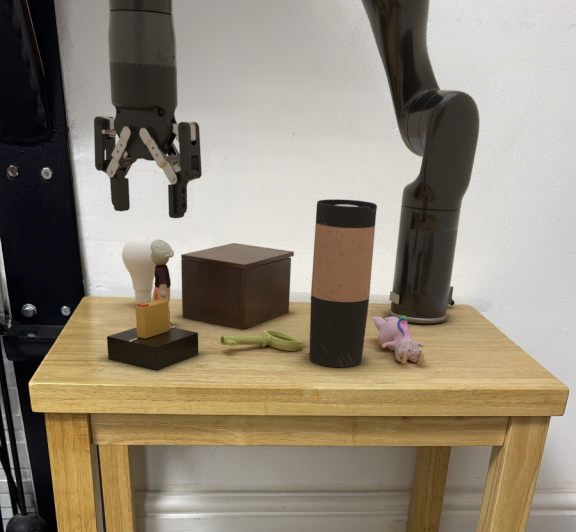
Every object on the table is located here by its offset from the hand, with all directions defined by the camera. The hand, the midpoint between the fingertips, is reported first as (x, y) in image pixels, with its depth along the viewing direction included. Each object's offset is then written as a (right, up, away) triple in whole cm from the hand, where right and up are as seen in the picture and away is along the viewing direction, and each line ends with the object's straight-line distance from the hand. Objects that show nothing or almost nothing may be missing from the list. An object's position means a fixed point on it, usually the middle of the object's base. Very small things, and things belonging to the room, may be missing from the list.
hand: (148, 214), depth 95 cm
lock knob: (-1, -13, +7) cm, 15 cm away
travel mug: (+23, -16, +11) cm, 30 cm away
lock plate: (-1, -16, +8) cm, 18 cm away
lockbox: (+9, -5, +30) cm, 32 cm away
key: (+13, -13, +15) cm, 24 cm away
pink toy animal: (+32, -14, +16) cm, 38 cm away
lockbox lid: (+9, +3, +26) cm, 28 cm away
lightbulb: (-7, -3, +33) cm, 34 cm away
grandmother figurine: (-2, -9, +21) cm, 23 cm away
